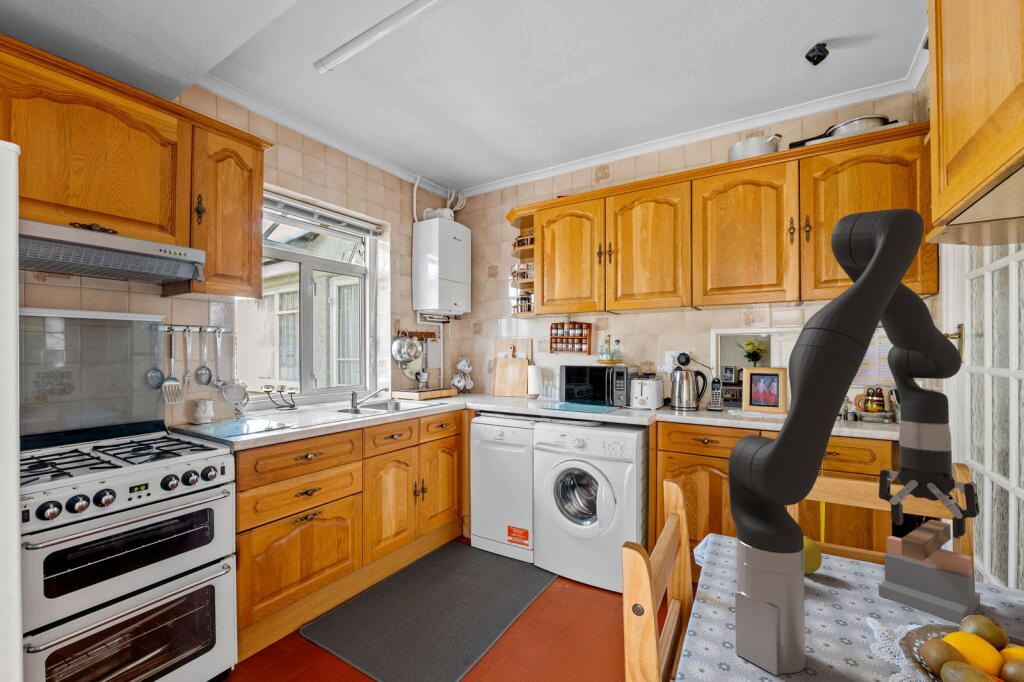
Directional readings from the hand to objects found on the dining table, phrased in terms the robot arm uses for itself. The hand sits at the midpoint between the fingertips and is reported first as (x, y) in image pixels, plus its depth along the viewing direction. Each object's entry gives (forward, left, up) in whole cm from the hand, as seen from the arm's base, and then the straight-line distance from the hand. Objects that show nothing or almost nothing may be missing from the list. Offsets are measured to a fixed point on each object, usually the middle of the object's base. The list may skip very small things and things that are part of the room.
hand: (926, 530), depth 89 cm
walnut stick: (0, 0, -3) cm, 3 cm away
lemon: (-8, +18, -13) cm, 24 cm away
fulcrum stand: (0, 0, -13) cm, 13 cm away
